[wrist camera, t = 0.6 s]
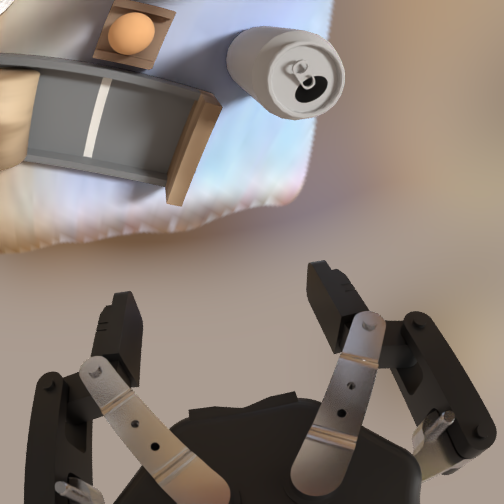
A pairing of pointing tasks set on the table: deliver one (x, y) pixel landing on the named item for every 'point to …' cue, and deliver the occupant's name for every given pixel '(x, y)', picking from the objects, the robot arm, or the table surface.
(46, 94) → the lane
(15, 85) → the log
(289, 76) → the can
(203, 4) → the table surface
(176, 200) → the backstop
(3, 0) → the spread jar
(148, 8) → the tee
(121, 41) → the ball
